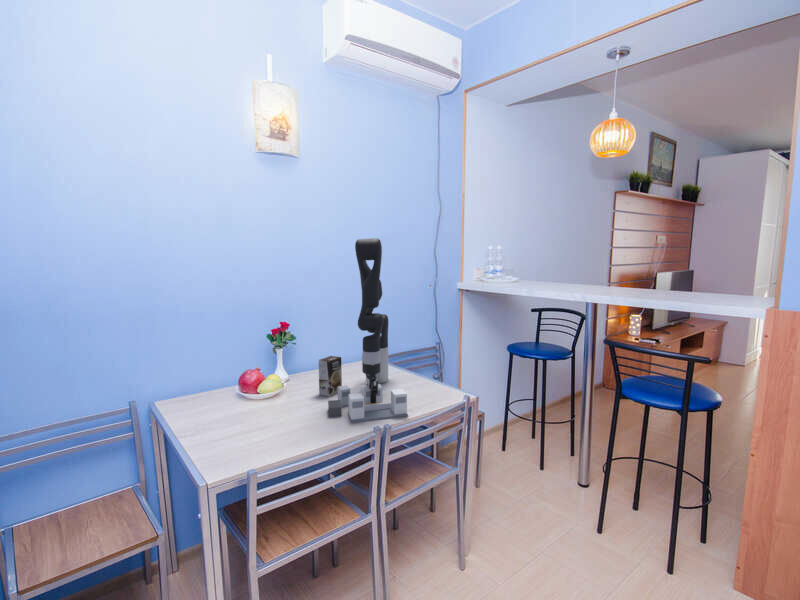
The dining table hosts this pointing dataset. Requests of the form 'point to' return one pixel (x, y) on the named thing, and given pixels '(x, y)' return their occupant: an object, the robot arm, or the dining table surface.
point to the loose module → (367, 396)
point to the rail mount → (377, 407)
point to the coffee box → (330, 375)
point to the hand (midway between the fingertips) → (371, 400)
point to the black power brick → (334, 408)
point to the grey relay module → (344, 395)
